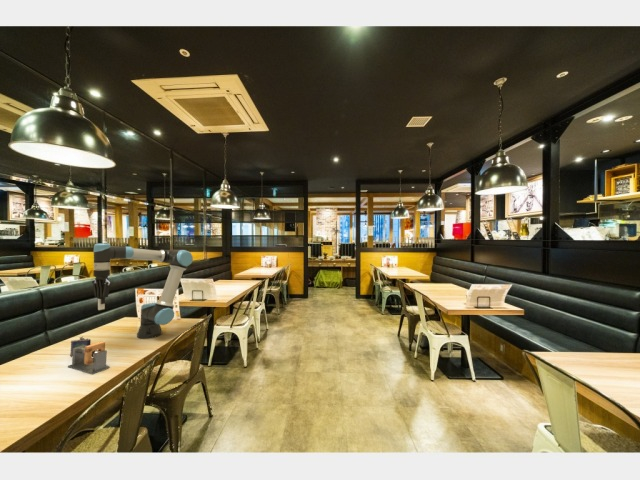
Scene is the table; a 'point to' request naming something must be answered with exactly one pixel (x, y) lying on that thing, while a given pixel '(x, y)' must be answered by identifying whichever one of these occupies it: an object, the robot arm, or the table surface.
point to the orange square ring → (90, 348)
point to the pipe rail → (94, 367)
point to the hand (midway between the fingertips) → (101, 309)
